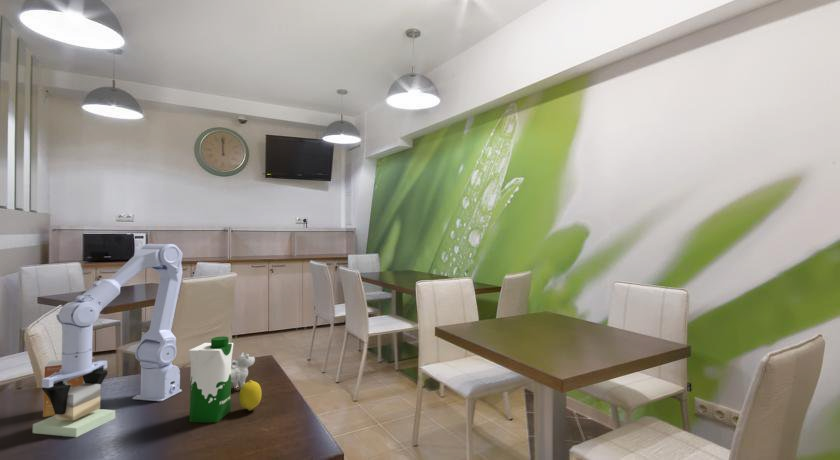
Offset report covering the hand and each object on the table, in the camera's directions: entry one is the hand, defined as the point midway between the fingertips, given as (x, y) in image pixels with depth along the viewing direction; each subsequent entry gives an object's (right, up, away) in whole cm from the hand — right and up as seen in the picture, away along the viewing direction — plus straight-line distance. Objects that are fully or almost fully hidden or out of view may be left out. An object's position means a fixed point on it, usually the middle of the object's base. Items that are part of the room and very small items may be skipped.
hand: (76, 407), depth 99 cm
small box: (-10, -5, +9) cm, 14 cm away
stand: (0, -4, 0) cm, 4 cm away
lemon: (+39, -5, +9) cm, 40 cm away
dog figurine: (+28, -5, +23) cm, 36 cm away
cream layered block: (+1, -2, 0) cm, 2 cm away
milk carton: (+30, -5, +5) cm, 31 cm away
